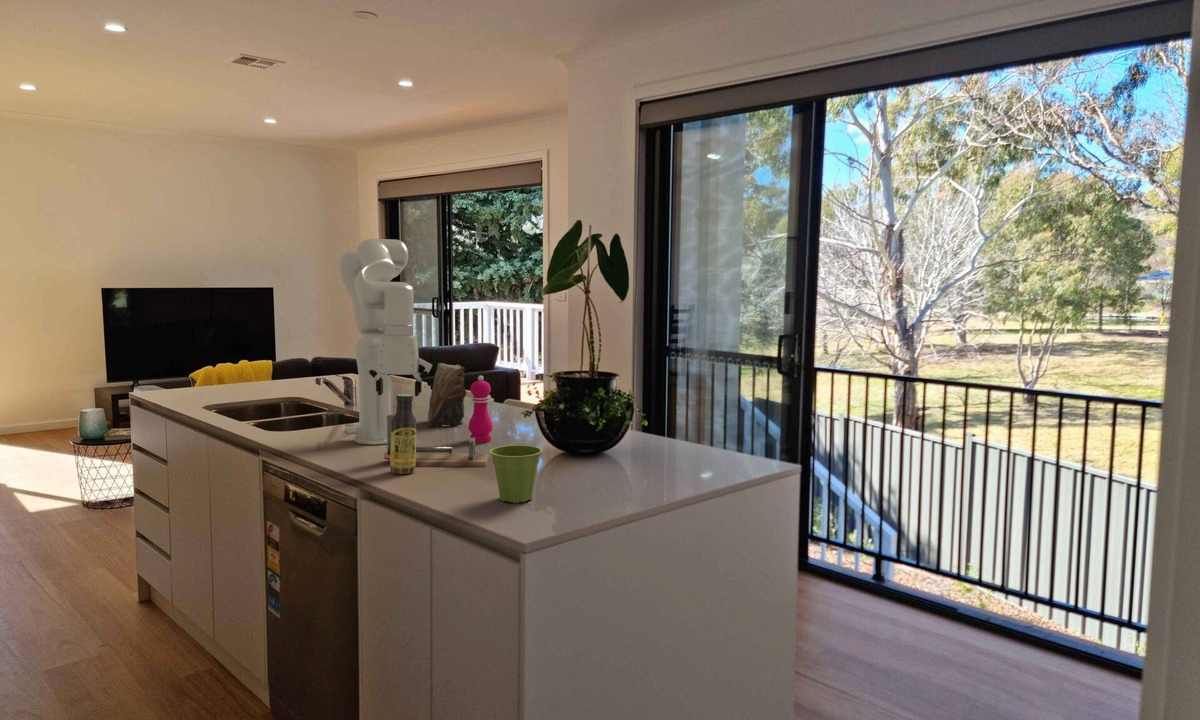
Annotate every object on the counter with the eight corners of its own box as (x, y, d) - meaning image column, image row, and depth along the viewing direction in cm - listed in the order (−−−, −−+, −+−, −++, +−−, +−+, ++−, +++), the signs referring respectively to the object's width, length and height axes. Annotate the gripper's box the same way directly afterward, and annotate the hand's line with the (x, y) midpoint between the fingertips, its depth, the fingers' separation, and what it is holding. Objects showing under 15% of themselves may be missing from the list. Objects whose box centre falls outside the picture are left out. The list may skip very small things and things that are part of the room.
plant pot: (521, 489, 185) (522, 442, 184) (552, 500, 176) (553, 451, 175) (478, 497, 177) (478, 448, 176) (508, 510, 168) (509, 458, 167)
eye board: (400, 466, 205) (400, 443, 204) (407, 458, 214) (406, 436, 213) (485, 466, 206) (485, 443, 206) (488, 458, 215) (488, 436, 214)
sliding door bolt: (381, 460, 205) (381, 417, 204) (386, 454, 212) (386, 413, 211) (450, 460, 207) (450, 418, 205) (453, 454, 213) (453, 414, 212)
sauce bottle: (393, 476, 194) (392, 397, 192) (387, 471, 200) (386, 393, 198) (419, 474, 197) (418, 395, 195) (413, 468, 203) (412, 392, 201)
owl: (431, 420, 270) (431, 362, 268) (469, 420, 270) (469, 362, 268) (426, 427, 257) (425, 366, 255) (465, 427, 258) (465, 367, 256)
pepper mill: (495, 439, 240) (495, 374, 238) (489, 444, 233) (489, 377, 231) (472, 438, 241) (472, 373, 239) (465, 443, 234) (465, 376, 232)
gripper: (362, 331, 203) (362, 396, 205) (429, 333, 204) (429, 398, 206) (368, 328, 210) (369, 391, 212) (434, 330, 211) (433, 393, 214)
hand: (398, 394), depth 209 cm, fingers open, 9 cm apart
